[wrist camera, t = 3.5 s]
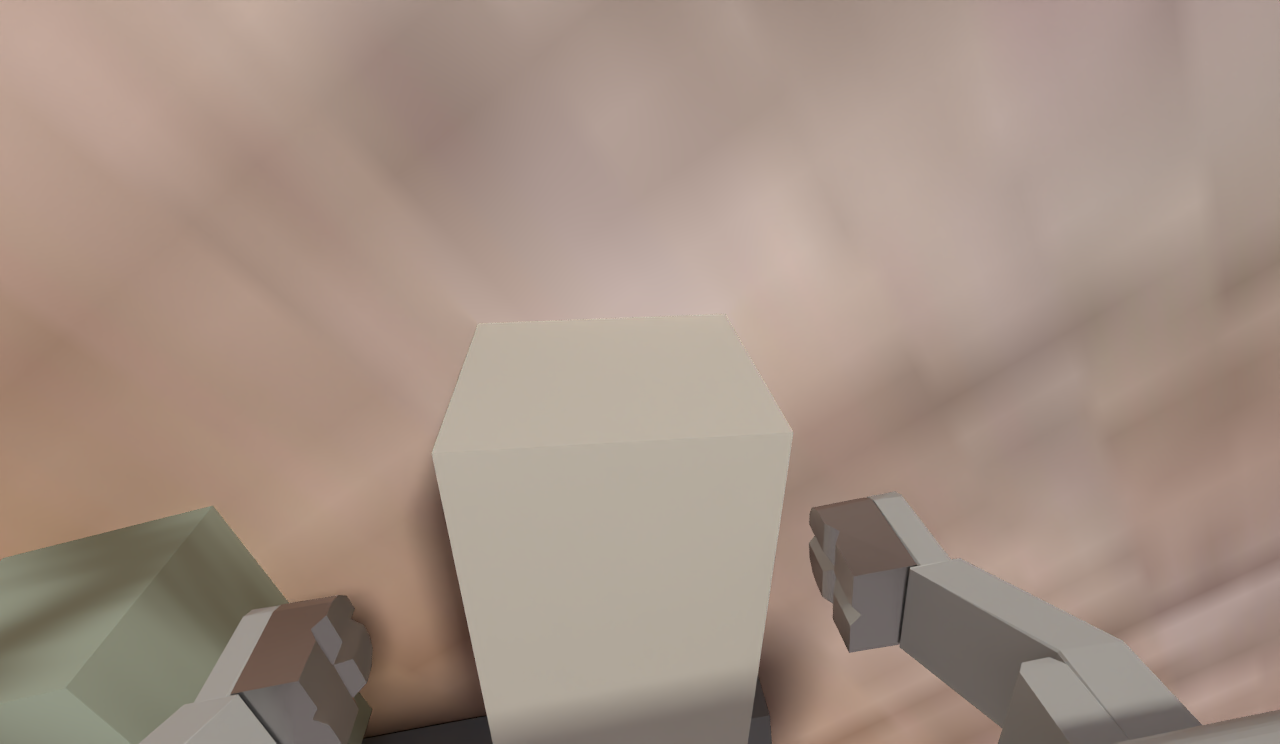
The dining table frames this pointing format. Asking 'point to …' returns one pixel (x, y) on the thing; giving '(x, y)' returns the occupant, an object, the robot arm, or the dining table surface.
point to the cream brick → (614, 526)
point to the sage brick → (123, 628)
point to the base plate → (473, 740)
